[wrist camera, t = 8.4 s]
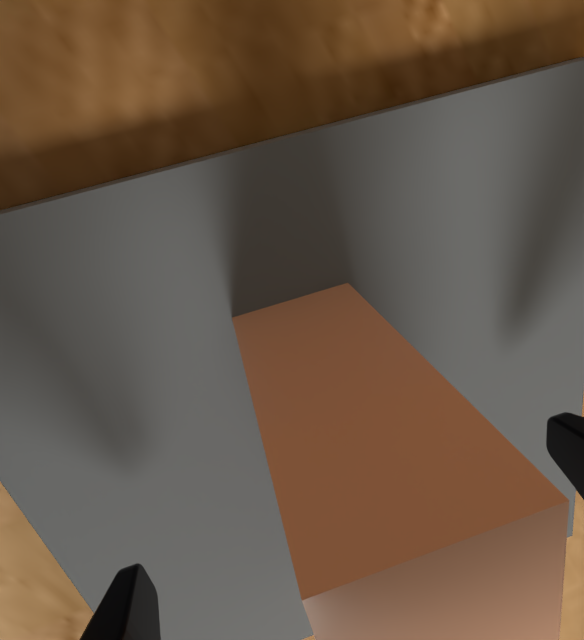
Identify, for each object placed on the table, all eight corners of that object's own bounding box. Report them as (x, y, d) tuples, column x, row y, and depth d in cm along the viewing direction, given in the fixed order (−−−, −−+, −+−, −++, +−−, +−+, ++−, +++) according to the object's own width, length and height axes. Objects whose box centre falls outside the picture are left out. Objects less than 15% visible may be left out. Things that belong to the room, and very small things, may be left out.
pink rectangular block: (311, 567, 13) (406, 897, 7) (232, 317, 9) (301, 600, 4) (401, 534, 13) (555, 828, 8) (356, 280, 9) (588, 492, 4)
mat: (154, 667, 14) (153, 696, 13) (-129, 244, 8) (-159, 256, 7) (554, 516, 15) (572, 535, 15) (577, 57, 9) (610, 53, 9)
